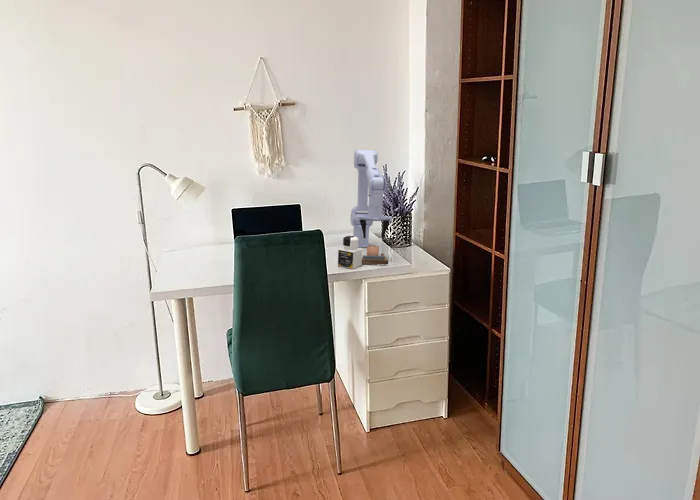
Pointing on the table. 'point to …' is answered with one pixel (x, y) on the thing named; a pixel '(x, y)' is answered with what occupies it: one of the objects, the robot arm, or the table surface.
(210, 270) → the table surface
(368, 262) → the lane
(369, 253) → the terracotta jar
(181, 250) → the table surface
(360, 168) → the robot arm
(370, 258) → the plate
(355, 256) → the medicine bottle
